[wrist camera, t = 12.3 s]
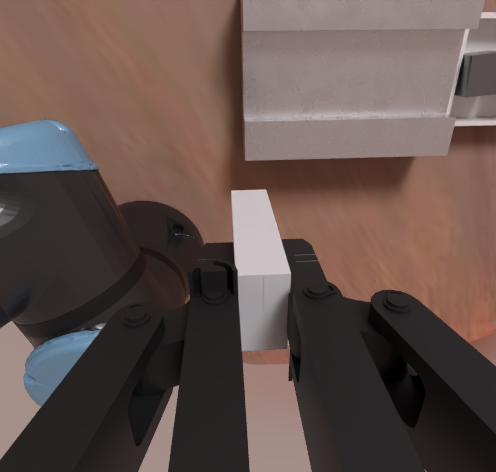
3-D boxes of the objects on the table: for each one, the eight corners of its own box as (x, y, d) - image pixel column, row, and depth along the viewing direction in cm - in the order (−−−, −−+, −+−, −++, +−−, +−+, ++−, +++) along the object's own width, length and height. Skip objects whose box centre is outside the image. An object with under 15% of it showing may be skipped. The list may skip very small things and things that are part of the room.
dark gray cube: (479, 89, 42) (503, 93, 39) (445, 93, 42) (465, 97, 39) (486, 50, 40) (512, 50, 37) (450, 54, 40) (472, 55, 37)
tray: (509, 119, 44) (527, 124, 42) (429, 121, 44) (442, 126, 41) (541, 14, 39) (564, 11, 37) (451, 14, 39) (468, 12, 36)
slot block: (420, 142, 45) (447, 155, 40) (242, 146, 44) (245, 160, 39) (452, -14, 38) (490, -24, 32) (239, -13, 37) (242, -23, 31)
